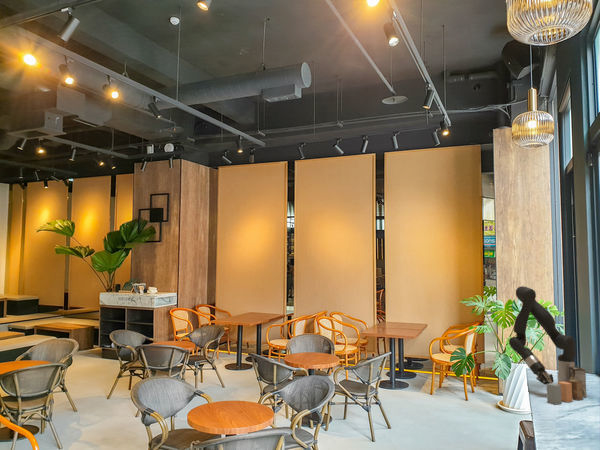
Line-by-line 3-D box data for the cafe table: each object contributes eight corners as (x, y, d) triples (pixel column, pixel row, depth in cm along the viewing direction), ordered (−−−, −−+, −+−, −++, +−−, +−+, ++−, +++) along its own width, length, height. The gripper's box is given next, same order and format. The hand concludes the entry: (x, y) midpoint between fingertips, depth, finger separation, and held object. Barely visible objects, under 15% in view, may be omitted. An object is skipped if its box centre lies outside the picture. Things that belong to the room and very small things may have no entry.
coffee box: (569, 393, 277) (568, 366, 279) (581, 393, 276) (579, 366, 278) (575, 397, 268) (574, 369, 270) (587, 397, 267) (585, 369, 269)
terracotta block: (558, 400, 261) (557, 382, 262) (563, 399, 263) (563, 381, 264) (567, 402, 256) (566, 384, 257) (572, 401, 259) (571, 383, 260)
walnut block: (569, 398, 265) (568, 380, 266) (574, 397, 268) (573, 379, 269) (577, 400, 261) (576, 382, 262) (582, 399, 263) (581, 381, 264)
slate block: (547, 402, 256) (546, 383, 257) (553, 401, 258) (552, 383, 260) (555, 404, 252) (555, 385, 253) (561, 403, 254) (560, 385, 255)
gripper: (531, 361, 273) (551, 387, 261) (545, 360, 279) (565, 385, 267) (523, 369, 277) (543, 394, 265) (537, 367, 283) (557, 392, 271)
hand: (554, 389), depth 266 cm, fingers closed
